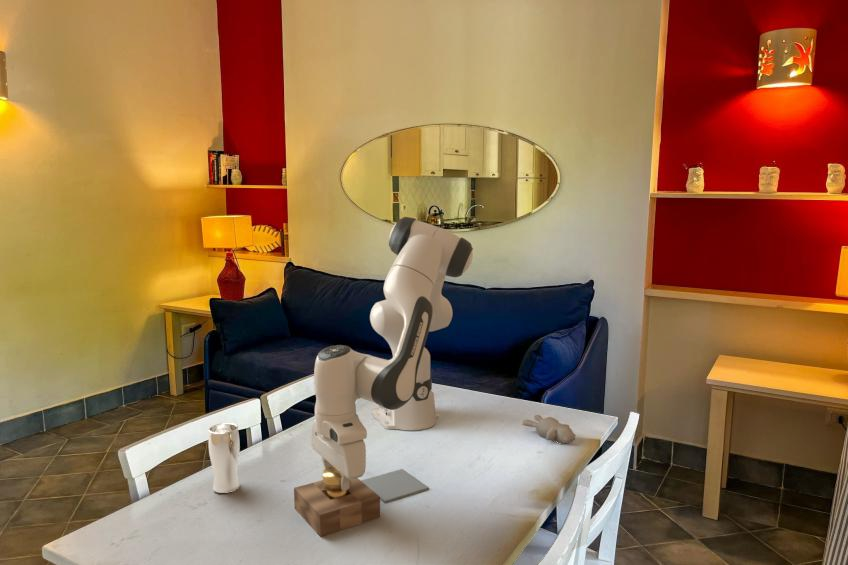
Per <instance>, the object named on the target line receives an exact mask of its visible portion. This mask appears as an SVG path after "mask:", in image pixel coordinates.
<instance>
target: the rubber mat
mask: <svg viewBox="0 0 848 565" xmlns="http://www.w3.org/2000/svg"><path fill="white" fill-rule="evenodd" d="M360 481H362V482H363V483H364V484H365V485H366V486H368V487H369V488H370V489H371V490H373V491H374V492H375V493H376V494H377V495H379V496H380V501H382V502H383V503H384V504H386V503H389V502H392V501H396V500H399V499H402V498H404V497H405V498H406V497H409V496H411V495H412V496H413V495H415V494H417V493H422V492H424V491H427V490H429V488H430V487H429V486H427V485H426V484H425V483H423V482H422V481H421V480H419V479H418V478H416V477H414V476H413V475H412V474H410V473H409V472H408V471H406V470H405V469H403V468H400V469H397V470H394V471H389V472H386V473H383V474H380V475H375V476H372V477H369V478H366V479H361V480H360Z"/></svg>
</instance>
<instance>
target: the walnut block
mask: <svg viewBox="0 0 848 565" xmlns="http://www.w3.org/2000/svg"><path fill="white" fill-rule="evenodd" d="M293 495H294V496H293V497H294V498H293V500H294V501H293V504H294V509H295V511H297V512H298V513H299V515H300V516H301V517H302V519H304V521H306V523H308V525H309V526H310V527H311V528H312V529H313V530H314V531H315V533H316V534H317V535H318V536H319V538H321V537H324V536H327V535H330V534H333V533H336V532H340V531H343V530H346V529H349V528H352V527H355V526H359V525H362V524H364V523H368V522H370V521H373V520H376V519H380V518H381V499H380V496H379V495H377V494H376V493H375V492H374V491H373V490H371V489H370V488H369V487H368V486H366V485H365V484H364V483H363V482H362V481H361V480H360V479H359V478H355V479H351V485H350V488H349V489H348V490H347V495H346V496H342V497H339V498H335V499H332V500H330V499H329V498H328V497H327V490H325V489H324V488H323V479H322V480H319V481H318V480H317V481H314V482H311V483H307V484H303V485H299V486H295V487H294V488H293Z"/></svg>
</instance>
